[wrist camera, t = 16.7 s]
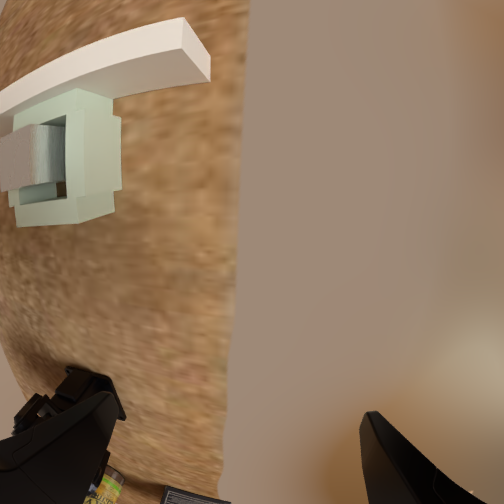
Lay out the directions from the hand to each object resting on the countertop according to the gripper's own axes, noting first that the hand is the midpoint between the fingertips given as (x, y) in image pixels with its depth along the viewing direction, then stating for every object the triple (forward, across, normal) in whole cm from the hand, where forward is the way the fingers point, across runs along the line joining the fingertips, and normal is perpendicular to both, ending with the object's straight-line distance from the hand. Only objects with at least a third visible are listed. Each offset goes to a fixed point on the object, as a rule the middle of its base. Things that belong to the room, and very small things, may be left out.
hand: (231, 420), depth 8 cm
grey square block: (+12, +14, -10) cm, 21 cm away
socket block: (+12, +14, -10) cm, 21 cm away
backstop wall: (+12, +14, -15) cm, 24 cm away
